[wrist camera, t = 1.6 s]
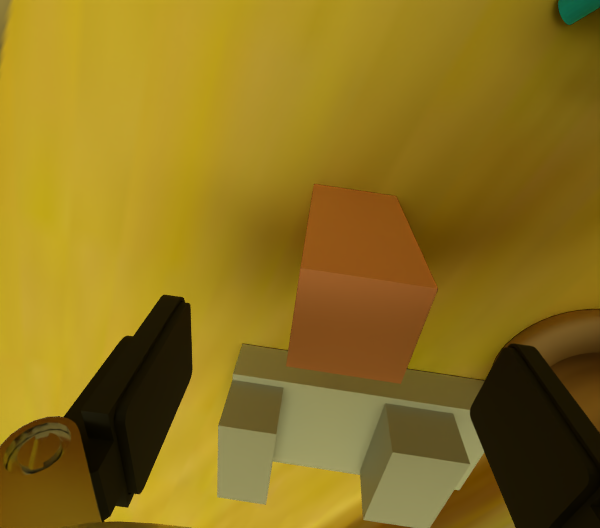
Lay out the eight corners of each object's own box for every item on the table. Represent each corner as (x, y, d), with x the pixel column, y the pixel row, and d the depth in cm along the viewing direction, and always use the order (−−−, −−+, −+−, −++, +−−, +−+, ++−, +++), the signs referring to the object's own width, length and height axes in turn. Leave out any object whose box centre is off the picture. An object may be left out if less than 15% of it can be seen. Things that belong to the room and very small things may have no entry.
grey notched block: (491, 381, 23) (533, 467, 18) (449, 455, 27) (474, 541, 22) (242, 344, 23) (218, 419, 18) (238, 422, 27) (217, 501, 22)
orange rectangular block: (396, 196, 17) (438, 288, 10) (376, 266, 19) (400, 383, 12) (314, 183, 17) (300, 268, 10) (303, 255, 19) (285, 366, 12)
